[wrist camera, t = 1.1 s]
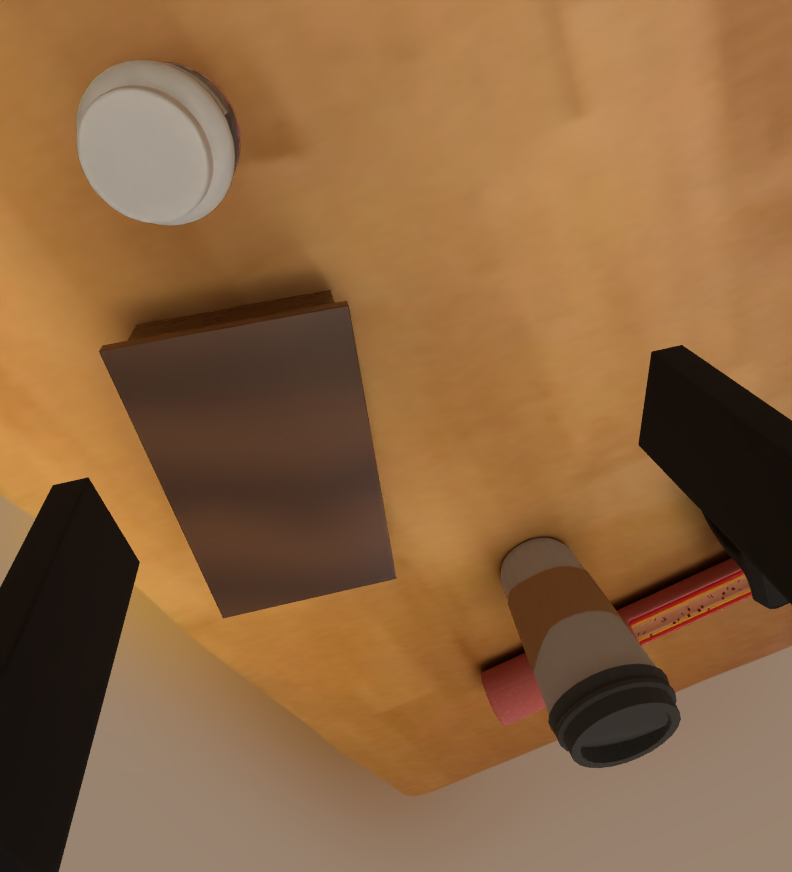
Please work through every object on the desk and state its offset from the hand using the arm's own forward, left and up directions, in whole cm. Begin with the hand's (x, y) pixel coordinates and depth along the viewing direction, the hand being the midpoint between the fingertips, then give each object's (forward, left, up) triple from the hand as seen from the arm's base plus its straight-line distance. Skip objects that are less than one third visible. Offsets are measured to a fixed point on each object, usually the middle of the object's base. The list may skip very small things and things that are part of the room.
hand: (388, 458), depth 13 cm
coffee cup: (+29, +12, -20) cm, 38 cm away
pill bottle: (-6, -6, -20) cm, 22 cm away
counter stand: (+12, -6, -20) cm, 24 cm away
